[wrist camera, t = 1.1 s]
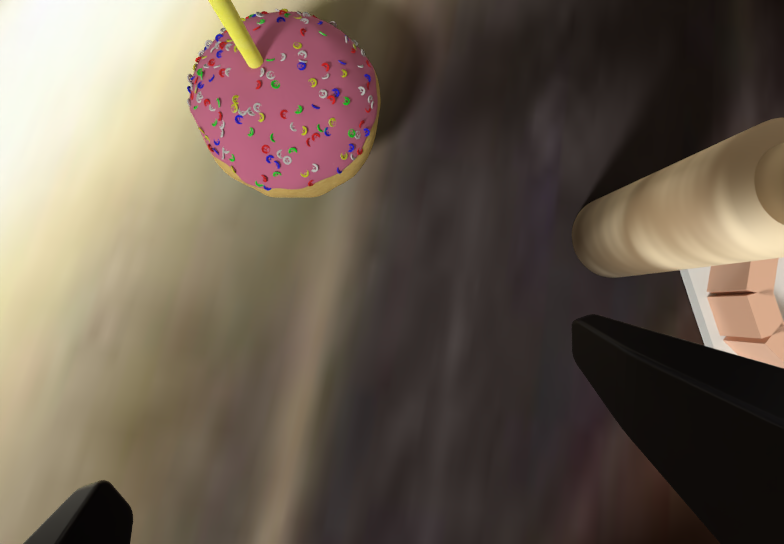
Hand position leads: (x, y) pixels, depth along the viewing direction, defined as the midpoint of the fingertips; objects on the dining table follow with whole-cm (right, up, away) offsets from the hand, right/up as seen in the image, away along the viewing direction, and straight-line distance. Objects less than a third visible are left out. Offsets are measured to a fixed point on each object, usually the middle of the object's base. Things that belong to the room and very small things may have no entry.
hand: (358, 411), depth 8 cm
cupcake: (-4, +10, +16) cm, 19 cm away
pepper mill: (+14, +5, +17) cm, 22 cm away
